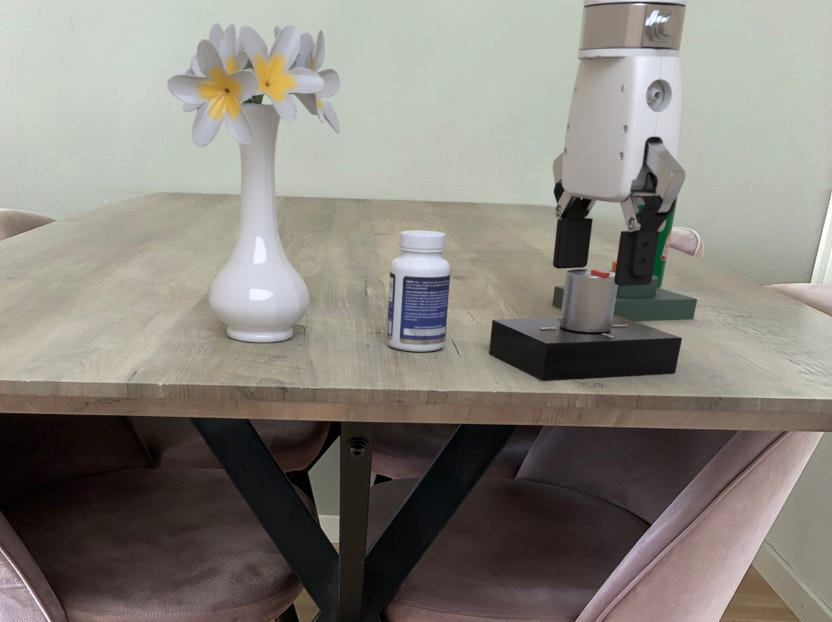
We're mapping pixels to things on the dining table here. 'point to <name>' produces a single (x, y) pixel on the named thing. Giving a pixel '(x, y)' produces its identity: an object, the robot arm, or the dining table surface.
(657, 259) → the soda can
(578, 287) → the dial
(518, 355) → the dial panel
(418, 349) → the pill bottle
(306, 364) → the dining table surface
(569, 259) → the robot arm
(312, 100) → the flower vase
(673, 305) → the button block
